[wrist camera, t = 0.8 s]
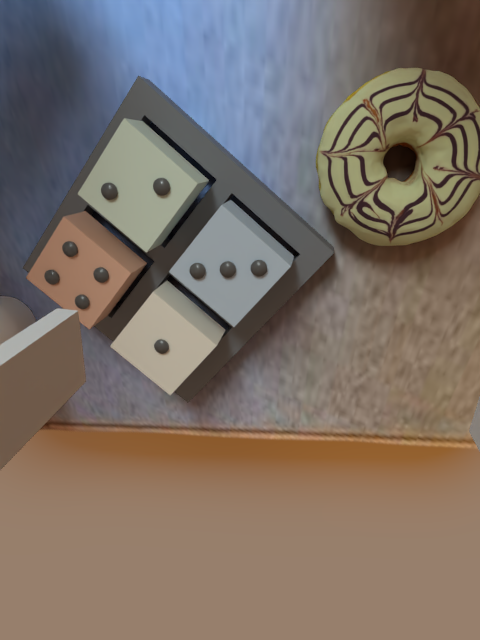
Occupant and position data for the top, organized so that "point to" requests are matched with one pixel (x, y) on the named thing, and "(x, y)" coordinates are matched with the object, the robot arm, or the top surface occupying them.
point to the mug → (13, 317)
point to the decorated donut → (407, 130)
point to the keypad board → (199, 226)
